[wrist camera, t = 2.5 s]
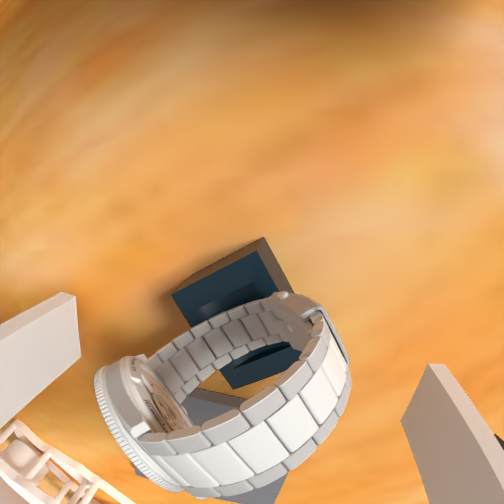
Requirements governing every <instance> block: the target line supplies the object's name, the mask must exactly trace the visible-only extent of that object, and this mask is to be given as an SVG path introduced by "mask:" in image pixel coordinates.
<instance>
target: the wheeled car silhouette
mask: <svg viewBox="0 0 504 504" xmlns="http://www.w3.org/2000/svg"><path fill="white" fill-rule="evenodd" d="M13 432H15V434H16V436H17V437H18V439H19V440H17V439H16V440H14V441H13V442H12V443H11V444H10V445H9V446H8V447H7V448H6V449H5V450H4V451H3V452H2V453H1V454H0V476H1V477H2V478H3V479H4V480H5V482H6V483H7V484H8V485H9V486H11V487H12V488H13V489H14V490H15V491H16V492H17V493H18V494H19V495H21V496H22V497H23V498H24V499H25V500H27V501H28V502H29V503H30V504H60V501H61V500H62V499H63V497H64V496H65V494H66V493H67V492H68V490H69V489H71V490H72V491H73V492H75V493H74V494H73V496H72V497H71V499H70V500H69V502H68V503H67V504H76V503H77V502H78V500H79V499H80V497H81V498H82V499H81V501H79V502H78V504H101V503H100V502H98V501H97V500H95V499H94V498H92V497H93V496H94V494H95V492H96V491H97V489H98V488H101V489H102V490H103V491H105V492H106V493H107V494H109V495H110V496H112V497H113V498H114V499H116V500H117V501H118V502H120V503H121V504H135V503H134V502H132V501H131V500H130V499H128V498H127V497H125V496H124V495H123V494H121V493H120V492H119V491H117V490H116V489H115V488H113V487H112V486H111V485H109V484H108V483H107V482H105V481H104V480H102V479H101V478H100V477H99V476H97V475H95V474H93V473H92V472H91V471H89V470H88V469H87V468H86V467H85V466H83V465H82V464H80V463H78V462H76V461H74V460H72V459H71V458H69V457H67V456H66V455H64V454H63V453H61V452H60V451H58V450H57V449H55V448H53V447H51V446H49V445H47V444H45V443H44V442H42V441H41V440H40V439H39V438H38V437H37V436H36V435H35V434H34V433H33V432H32V431H31V430H30V429H29V428H28V427H27V426H26V425H25V424H24V423H22V422H21V421H20V420H18V419H16V420H15V421H14V422H12V423H11V425H10V426H9V427H8V428H7V429H6V430H5V431H4V432H3V433H2V434H1V435H0V445H1V444H2V443H3V442H4V441H5V440H6V439H7V438H8V437H9V436H10V435H11V434H12V433H13ZM27 438H28V439H29V440H30V441H31V442H32V443H33V444H34V445H35V446H36V447H37V448H39V449H40V450H41V451H43V452H45V453H44V454H43V455H42V454H41V453H40V452H39V451H38V450H37V449H36V448H35V447H34V446H33V445H32V444H31V442H30V441H29V440H28V439H27ZM50 457H51V458H52V459H53V460H54V461H55V462H56V463H57V464H58V465H59V466H61V467H62V468H63V469H64V470H65V471H66V472H67V473H68V474H70V475H71V476H72V477H73V478H74V479H75V480H77V481H78V482H79V483H80V486H79V487H78V486H77V485H76V484H75V483H74V482H73V481H72V480H70V479H69V478H68V477H67V476H66V475H65V474H64V473H63V472H62V471H61V470H60V469H59V468H58V467H56V466H55V465H54V464H53V463H52V462H50V461H49V460H48V459H49V458H50ZM48 469H49V470H50V471H51V472H52V473H54V474H55V475H56V476H57V477H58V478H59V479H60V480H61V481H62V482H63V483H64V486H63V487H62V489H61V490H60V491H59V493H58V494H57V495H56V497H55V498H52V497H50V496H48V495H47V494H45V493H44V492H42V491H41V490H40V489H38V488H37V485H38V484H39V483H40V482H41V480H42V479H43V478H44V477H45V475H46V474H47V473H48ZM86 488H89V489H88V490H87V492H84V491H85V490H86Z"/></svg>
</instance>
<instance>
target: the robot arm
mask: <svg viewBox="0 0 504 504" xmlns="http://www.w3.org/2000/svg"><path fill="white" fill-rule="evenodd" d="M79 358H81V349H80V341H79V331H78V320H77V306H76V296H73V295H70V294H67V293H64V292H61V293H59V294H57V295H55V296H53V297H51V298H49V299H47V300H45V301H43V302H41V303H39V304H37V305H35V306H34V307H32V308H30V309H28V310H26V311H24V312H22V313H20V314H19V315H17V316H15V317H13V318H11V319H9V320H7V321H6V322H4V323H2V324H0V428H2V427H3V426H4V425H5V424H6V423H7V422H8V421H9V420H10V419H11V418H12V417H14V416H15V415H16V414H17V413H18V412H19V411H20V410H21V409H22V408H24V407H25V406H26V405H27V404H28V403H29V402H30V401H31V400H33V399H34V398H35V397H36V396H37V395H38V394H39V393H40V392H42V391H43V390H44V389H45V388H46V387H47V386H48V385H49V384H51V383H52V382H53V381H54V380H55V379H56V378H57V377H59V376H60V375H61V374H62V373H63V372H64V371H66V370H67V369H68V368H69V367H70V366H71V365H72V364H74V363H75V362H76V361H77V360H78V359H79ZM401 423H402V426H403V428H404V431H405V433H406V436H407V439H408V441H409V444H410V447H411V450H412V452H413V455H414V458H415V461H416V464H417V466H418V469H419V472H420V475H421V478H422V481H423V484H424V487H425V490H426V493H427V496H428V500H429V503H430V504H504V441H503V440H502V439H501V438H499V437H498V436H497V435H496V434H493V433H492V431H491V430H490V428H489V427H488V425H487V424H486V422H485V421H484V419H483V418H482V416H481V415H480V413H479V412H478V410H477V409H476V407H475V406H474V404H473V403H472V402H471V400H470V399H469V397H468V396H467V394H466V393H465V392H464V390H463V389H462V387H461V386H460V385H459V383H458V382H457V381H456V379H455V378H454V376H453V375H452V374H451V372H450V371H449V370H448V368H447V367H446V366H445V364H433V363H428V364H427V367H426V369H425V371H424V373H423V376H422V378H421V380H420V382H419V385H418V387H417V389H416V391H415V393H414V395H413V397H412V399H411V401H410V403H409V405H408V407H407V409H406V411H405V413H404V415H403V417H402V419H401Z"/></svg>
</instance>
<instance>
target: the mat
mask: <svg viewBox="0 0 504 504" xmlns="http://www.w3.org/2000/svg"><path fill="white" fill-rule="evenodd" d="M246 400H248V399H244V398H239V397H234V396H230V395H225V394H221V393H216V392H212V391H208V390H204V389H200V388H195V389H194V390H193V391H192V392H191V393H190V394H188V395H186V398H185V399H184V400H183V401H182V402H181V404H180V405H182V406H183V407H184V408H185V409H186V411H187V415H188V416H189V418H190V420H191V421H192V423H193V424H194V426H200V427H201V428H202V425H203V424H204V423H205V422H206V421H208V420H211V419H213V418H216V417H218V416H220V415H222V414H224V413H226V412H228V411H230V410H233V409H237V410H239V411H240V413H241V414H242V415H243V417H244V418H245V419H246V421H248V420H247V418H246V417H245V416H244V414H243V413H242V412H241V410H240V405H241V404H242V403H243V402H245V401H246ZM264 422H265V423H266V424H267V425H268V427H269V428H270V429H271V431H272V432H273V433H274V435H275V436H276V437H277V439H278V440H279V441H280V442H281V440H280V439H279V438H278V436H277V435H276V434H275V432H274V431H273V430H272V428H271V427H270V426H269V424H268V423H267V422H266V420H264ZM281 444H282V445H283V446H284V448H285V449H286V447H285V445H284V444H283V443H282V442H281ZM281 463H282V462H281ZM282 465H283V466H284V467H285V468H286V469H287V467H286V466H285V465H284V464H283V463H282ZM134 467H135V472H136V475H139V476H141V477H144V478H147V479H149V478H148V477H147V476H145V475H144V474H143V473H142V472H141V471H140V470H139V469H138V468H137V467H136V466H135V465H134ZM288 471H289V470H288V469H287V473H288ZM287 473H286V474H285V475H283V476H282V477H280V478H278V479H277V480H275V481H273V482H271V483H269V484H267V485H265V486H263V487H260V488H255V487H254V488H253V490H251V491H248V492H245V493H241V494H237V495H232V496H222V495H221V496H220V497H212V498H216V499H221V500H226V501H230V502H236V503H241V504H274V502H275V500H276V498H277V496H278V494H279V491H280V489H281V487H282V485H283V483H284V480H285V478H286V476H287ZM185 491H186V490H185Z"/></svg>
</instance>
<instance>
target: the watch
mask: <svg viewBox="0 0 504 504" xmlns="http://www.w3.org/2000/svg"><path fill="white" fill-rule="evenodd" d="M171 296H172V297H173V299H174V301H175V302H176V304H177V306H178V307H179V309H180V310H181V312H182V314H183V315H184V317H185V318H186V320H187V322H188V323H189V325H190V326H191V329H189V330H190V332H191V333H192V335H193V336H194V338H193V336H192V335H191V333H190V332H189V331H186V332H184V333H183V334H181V335H179V336H178V337H176V338H175V339H173V340H172V342H169V343H168V344H166V345H165V346H163V347H162V348H160V349H159V350H158V351H156V352H155V354H153V355H152V356H150V357H149V358H148V359H147V357H146V356H145V354H140V355H137V356H125V357H123V358H121V359H119V360H118V361H116V362H114V363H113V364H111V365H105V366H103V367H101V368H100V369H98V370H97V371H96V373H95V376H94V386H95V387H94V388H95V394H96V398H97V401H98V405H99V407H100V410H101V413H102V415H103V417H104V420H105V422H106V424H107V426H108V428H109V429H110V431H111V433H112V435H113V436H114V438H115V440H116V441H117V443H118V444H119V446H120V447H121V449H122V450H123V451H124V453H125V454H126V455H127V457H128V458H129V459H130V460H131V461H132V462H133V464H134V465H135V466H136V467H137V468H138V469H139V470H140V471H141V472H142V473H143V474H144V475H145V476H147V477H148V478H149V479H150V480H151V481H153V482H154V483H156V484H157V485H159V486H160V487H162V488H164V489H165V490H168V491H171V492H175V493H177V492H181V491H183V490H186V491H187V492H188V493H190V494H191V495H192V496H194V497H195V498H197V499H206V498H211V497H220V496H221V495H222V496H232V495H237V494H241V493H245V492H248V491H251V490H253V488H254V487H255V488H260V487H263V486H265V485H267V484H269V483H271V482H273V481H275V480H277V479H278V478H280V477H282V476H283V475H285V474H286V473H287V469H288V470H293V469H295V468H296V467H297V466H299V465H300V464H301V463H303V462H304V461H305V460H306V459H307V458H308V457H309V456H310V455H312V454H313V453H314V452H315V451H316V449H317V445H320V444H322V443H323V441H324V440H325V439H326V438H327V437H328V435H329V434H330V433H331V431H332V430H333V429H334V427H335V426H336V424H337V422H338V420H339V418H338V417H340V416H341V415H342V414H343V411H344V409H345V407H346V404H347V402H348V398H349V395H350V392H349V391H350V390H351V375H350V369H349V367H348V366H349V364H350V359H349V357H348V354H347V352H346V349H345V347H344V345H343V343H342V341H341V339H340V337H339V335H338V333H337V331H336V329H335V327H334V325H333V323H332V321H331V319H330V318H329V316H328V314H327V312H326V310H325V309H324V307H323V306H321V305H320V304H319V303H317V302H316V301H314V300H312V299H310V298H308V297H306V296H303V295H299V294H295V293H294V291H293V290H292V288H291V286H290V284H289V282H288V280H287V278H286V277H285V275H284V273H283V271H282V269H281V267H280V265H279V264H278V262H277V260H276V258H275V256H274V254H273V253H272V251H271V249H270V247H269V245H268V243H267V241H266V240H265V238H264V237H263V238H261V239H259V240H257V241H255V242H253V243H251V244H249V245H248V246H246V247H244V248H242V249H240V250H238V251H236V252H234V253H232V254H230V255H229V256H227V257H225V258H223V259H221V260H219V261H217V262H215V263H213V264H211V265H210V266H208V267H206V268H204V269H202V270H200V271H198V272H196V273H194V274H192V275H191V276H190V277H189V278H188V279H187V280H186V281H185V282H184V283H183V284H182V285H181V286H180V287H178V288H177V289H176V290H175V291H174V292H173V293H172V294H171ZM173 344H174V345H173ZM175 347H176V348H175ZM184 347H185V349H186V350H187V351H186V350H185V349H184ZM187 352H188V353H189V354H188V353H187ZM189 355H190V356H191V357H190V356H189ZM191 358H192V359H193V360H192V359H191ZM193 361H194V362H195V363H196V365H197V366H198V367H197V366H196V365H195V363H194V362H193ZM169 362H170V363H169ZM211 363H212V365H213V366H214V368H215V369H216V370H218V369H219V370H220V371H221V373H222V374H223V376H224V377H225V379H226V380H227V381H228V383H229V384H230V386H231V387H232V388H233V389H236V388H239V387H242V386H245V385H248V384H251V383H254V382H257V381H259V380H262V379H265V378H267V377H270V376H273V375H275V374H278V373H281V372H283V371H285V372H284V373H283V374H282V375H281V376H280V377H279V378H277V379H276V380H275V382H274V384H275V386H273V385H270V386H267V387H266V388H264V389H263V390H261V391H260V392H259V393H257V394H256V395H254V396H253V397H251V398H250V399H248V400H246V401H245V402H243V403H242V404H241V405H240V410H241V412H242V413H243V414H244V416H245V417H246V418H247V420H248V421H246V419H245V418H244V417H243V415H242V414H241V413H240V411H239V410H237V409H233V410H230V411H228V412H226V413H224V414H222V415H220V416H218V417H216V418H213V419H211V420H208V421H206V422H205V423H204V424H203V425H202V428H201V427H200V426H194V424H193V423H192V421H191V420H190V418H189V416H188V415H187V411H186V409H185V408H184V407H183V406H182V405H180V404H181V402H182V401H183V400H184V399H185V398H186V395H188V394H190V393H191V392H192V391H193V390H194V389H195V388H196V387H197V386H198V385H199V383H200V382H199V381H201V382H202V381H204V380H205V379H206V378H208V377H209V376H210V375H211V374H213V373H214V372H215V369H214V368H213V366H212V365H211ZM198 368H199V369H198ZM174 369H175V370H174ZM179 376H180V377H179ZM195 376H196V377H197V378H196V377H195ZM182 380H183V381H182ZM198 380H199V381H198ZM264 420H266V422H267V423H268V424H269V426H270V427H271V428H272V430H273V431H274V432H275V434H276V435H277V436H278V438H279V439H280V440H281V442H282V443H283V444H284V445H285V447H286V449H285V448H284V446H283V445H282V444H281V442H280V441H279V440H278V439H277V437H276V436H275V435H274V433H273V432H272V431H271V429H270V428H269V427H268V425H267V424H266V423H265V422H264ZM316 444H317V445H316ZM281 462H282V463H283V464H284V465H285V466H286V467H287V469H286V468H285V467H284V466H283V465H282V463H281Z"/></svg>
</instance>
